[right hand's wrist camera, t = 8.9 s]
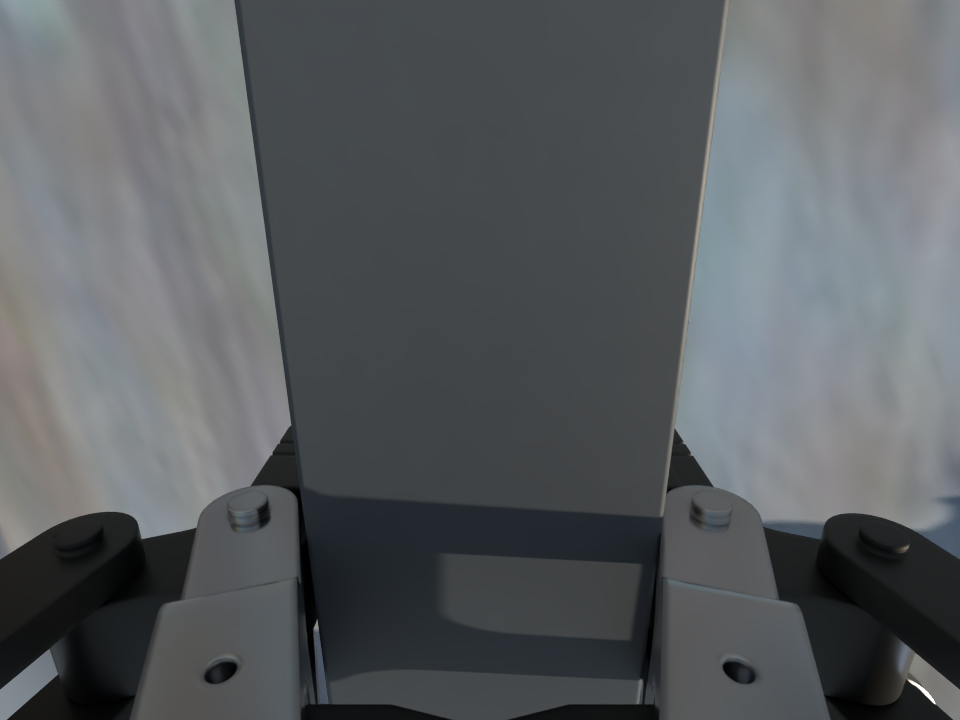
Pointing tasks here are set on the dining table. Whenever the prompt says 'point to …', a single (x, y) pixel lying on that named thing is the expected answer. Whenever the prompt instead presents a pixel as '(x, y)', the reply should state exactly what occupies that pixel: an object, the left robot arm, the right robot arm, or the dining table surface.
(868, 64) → the dining table surface
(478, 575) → the bar
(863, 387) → the dining table surface
